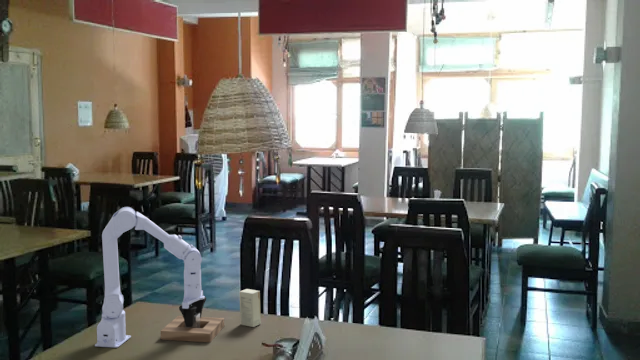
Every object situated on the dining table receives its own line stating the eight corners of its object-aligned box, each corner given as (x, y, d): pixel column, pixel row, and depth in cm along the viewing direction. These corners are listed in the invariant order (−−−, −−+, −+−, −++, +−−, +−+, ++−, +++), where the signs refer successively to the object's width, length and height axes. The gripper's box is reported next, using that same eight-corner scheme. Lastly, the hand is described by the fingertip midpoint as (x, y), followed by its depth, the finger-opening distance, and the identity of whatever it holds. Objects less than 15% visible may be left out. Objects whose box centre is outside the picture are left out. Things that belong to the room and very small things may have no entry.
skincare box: (261, 324, 202) (261, 290, 201) (253, 327, 199) (253, 293, 197) (247, 320, 206) (246, 287, 205) (239, 324, 202) (239, 290, 201)
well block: (210, 342, 185) (210, 333, 185) (160, 339, 188) (160, 330, 187) (224, 326, 200) (224, 318, 200) (178, 323, 202) (178, 315, 202)
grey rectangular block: (196, 333, 191) (195, 316, 191) (184, 333, 192) (184, 315, 191) (200, 329, 195) (200, 312, 195) (189, 328, 196) (188, 312, 195)
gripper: (196, 290, 184) (197, 330, 186) (211, 278, 199) (211, 315, 200) (175, 289, 185) (176, 329, 187) (191, 277, 200) (192, 314, 201)
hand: (193, 322), depth 193 cm, fingers open, 7 cm apart
